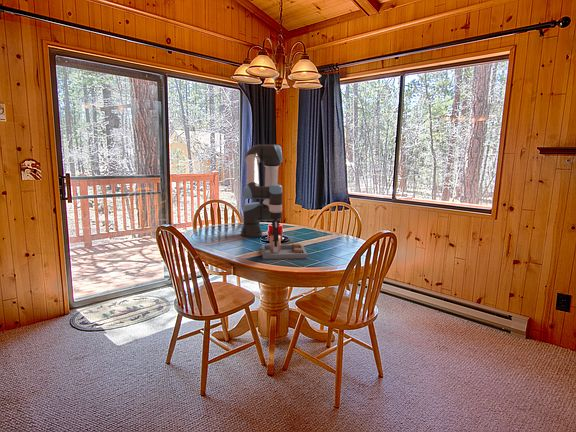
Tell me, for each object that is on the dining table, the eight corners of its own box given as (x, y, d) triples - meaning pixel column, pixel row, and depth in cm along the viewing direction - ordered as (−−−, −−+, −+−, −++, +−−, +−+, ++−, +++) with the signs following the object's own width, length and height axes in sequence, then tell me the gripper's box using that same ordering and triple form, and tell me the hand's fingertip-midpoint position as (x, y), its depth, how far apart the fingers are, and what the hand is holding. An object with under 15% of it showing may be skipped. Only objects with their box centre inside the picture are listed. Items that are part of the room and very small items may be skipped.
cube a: (291, 250, 221) (292, 243, 221) (298, 249, 222) (298, 243, 222) (293, 251, 217) (293, 245, 217) (300, 251, 219) (300, 245, 218)
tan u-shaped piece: (269, 249, 216) (269, 234, 215) (280, 249, 217) (280, 234, 215) (269, 252, 210) (270, 237, 208) (280, 252, 211) (281, 237, 209)
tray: (261, 249, 223) (261, 244, 223) (302, 249, 226) (302, 244, 225) (262, 259, 203) (262, 254, 202) (307, 259, 205) (307, 254, 205)
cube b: (295, 254, 212) (295, 247, 212) (301, 254, 212) (302, 248, 211) (294, 256, 208) (294, 249, 208) (301, 256, 208) (301, 250, 207)
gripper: (268, 208, 218) (268, 246, 222) (269, 214, 199) (269, 254, 204) (280, 208, 219) (280, 245, 223) (283, 214, 200) (282, 254, 204)
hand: (275, 250), depth 213 cm, fingers closed on tan u-shaped piece, 6 cm apart
